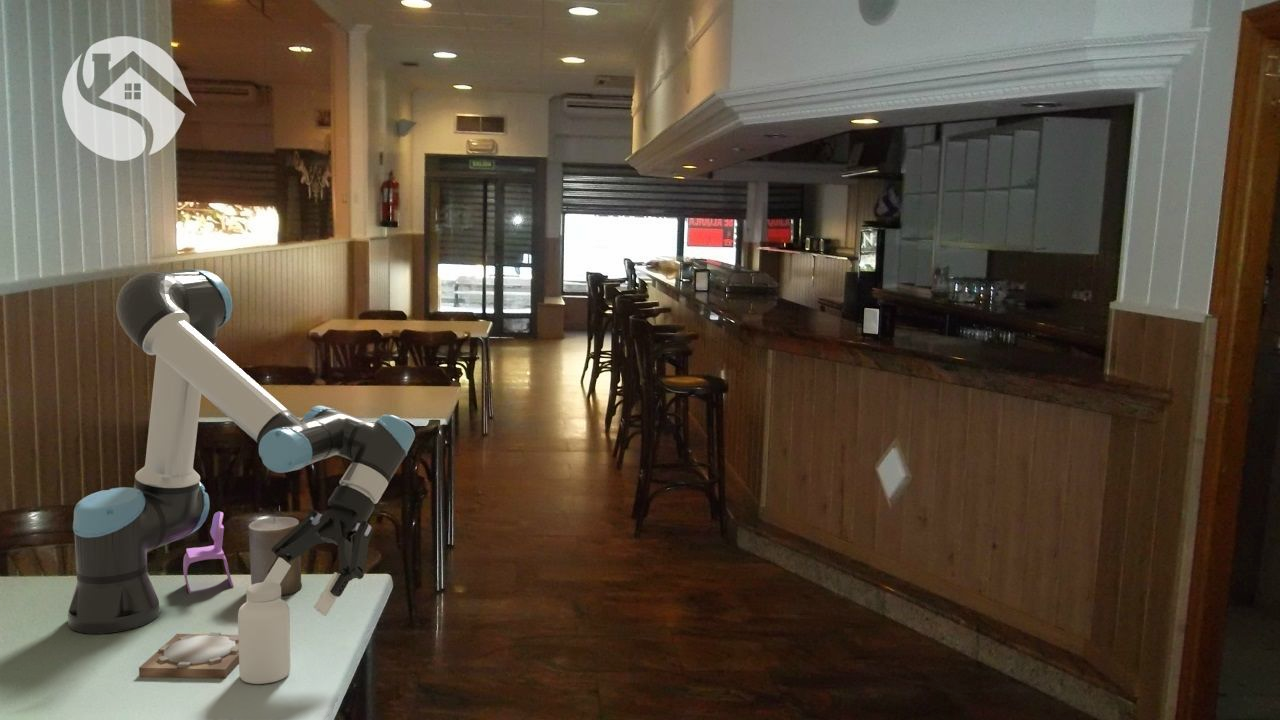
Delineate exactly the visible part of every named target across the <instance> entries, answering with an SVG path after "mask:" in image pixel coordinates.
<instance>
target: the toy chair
mask: <svg viewBox="0 0 1280 720" xmlns="http://www.w3.org/2000/svg"><path fill="white" fill-rule="evenodd" d="M223 519H224V512H222V511H217V512H215V513H214V514H213V518H212V523H211V527H210V531H209V534H210V536H211V538H212V541H213V542H214V543H213V545H208V546H201V547H200V546H199V547H189V548H186V549H185V550H186V551H185V552H186V553H185V554H184V556H183V559H182V560H183V562H182V563H183V564H182V566H183V567H182V568H183V570H182V571H183V576H184V581H185V584H186V588H187V591H188V593H189V594H191V595H192V591H191V588H190V584H189V580H188V569H189V566H191V564H193V563H196V562H200V561H206V560H217V559H218V560H221V559H222V560H223V564H224V568H225V572H226V576H227V580H228V582H229V584H230V587H231V588H233V589H234V584H233V580H232V577H231V573H230V569H229V563H228V561H227V558H226V556H225V553H224V550H223V548H222V547H223V540H224V537H223V536H224V531H225V527H224V525H223V524H222V523H223Z"/></svg>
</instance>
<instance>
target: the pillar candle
mask: <svg viewBox="0 0 1280 720" xmlns="http://www.w3.org/2000/svg"><path fill="white" fill-rule="evenodd" d="M299 523H300V520H298V519H297V518H295V517H292V516H291V517H290V516H272V517H266V518H261V519H257V520H255V521H252V522H251V523H250V524H248V537H249V538H248V541H249V561H250V562H249V563H250V565H249V566H250V581H251V582H250V583H251V585H253V584H256V583H261V582H264V580H265V579H266V577H267V575H268V574H267V573H268V571H269V569H270V567H271V566H272V564H273V563H274V561H275V560H276V555H275V554H274V552H272V550H271V549H272V547H273V546H274V545H276V544H277V543H278V542H279V541H280V540H281V539H282V538H284V537H285V536H286V535H287V534H288V533H289V532H290V531H291V530H293V529H294V528H295V527H296V526H297V525H298V524H299ZM281 549H282V548H281ZM287 555H289V554H287ZM301 558H302V557H301V555H300V556H298V557H297V558H295V559H294V560H292V561H290V564H291V567H290V568H289V570H288V572H287V573H286V575H285V577H284V578H283V580H282V581H281V583H280V586H281V597H283V596H286V595H289V594H294V593H296V592H298V591H300V590H301V589H302V588H303V583H302V566H301Z"/></svg>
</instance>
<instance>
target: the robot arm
mask: <svg viewBox="0 0 1280 720" xmlns="http://www.w3.org/2000/svg"><path fill="white" fill-rule="evenodd" d="M231 295H232V294H231V292H230V290H229V288H228V286H226V284H225V283H224V281H223V280H222V279H221V278H220V276H218V275H216V274H214V273H213V272H212V271H208V270H204V269H191V268H186V269H175V270H165V271H164V270H163V271H147V272H142V273H139V274H137V275H134V276H133V277H131V278H130V279H129V280H128V281H126V283H124V285H122V287H121V289H120V291H119V292H118V295H117V297H116V298H117V299H116V303H115V304H116V305H115V306H116V307H115V308H116V309H115V311H116V315H117V320H118V322H119V325H120V326H121V328H122V329H123V331H124V332H125V334H126V335H127V336H128V338H129V339H130V340H131V341H132V342H133V343H134V344H135V345H136V346H137V347H138V348H140V349H141V350H142V351H143V352H144V353H145V354H147V355H149V356H155V366H154V375H153V387H152V395H151V404H150V407H151V408H150V412H149V413H150V415H149V423H148V424H149V425H148V433H147V444H146V454H145V463H144V466H143V467H141V468H140V469H139V470H138V471H136V473H135V475H134V485H133V487H128V486H127V487H126V486H125V487H123V486H121V487H113V488H109V489H107V490H105V489H103V490H99V491H96V492H94V493H91V494H89V495H86V496H84V497H83V498H81V499H80V500H79V501H78V502H77V503H76V504H75V507H74V510H73V521H72V531H73V540H74V541H73V542H74V554H75V567H76V570H75V571H76V585H75V589H74V591H73V595H72V599H71V602H70V605H69V608H68V612H67V623H68V628H70V629H71V630H72V631H75V632H77V633H82V634H83V633H84V634H91V635H92V634H96V635H97V634H99V635H100V634H113V633H118V632H123V631H124V632H125V631H128V630H132V629H136V628H140V627H141V626H144V625H147V624H149V623H150V622H153V621H154V620H155V619H157V618H158V617H159V615H160V601H159V598H158V595H157V594H156V591H155V589H154V586H153V584H152V581H151V578H150V576H149V574H148V558H147V557H148V556H147V555H148V554H147V553H148V552H151V551H153V550H156V549H158V548H160V547H163V546H165V545H167V544H171V543H172V542H177V541H180V540H183V539H185V538H187V537H188V536H190V535H191V534H193V533H195V532H197V530H199V529H200V528H201V527H202V526H203V524H204V523H205V522H206V519H207V517H208V515H209V511H210V496H209V494H208V492H206V491H205V490H206V488H205V486H204V484H203V483H201V476H200V474H199V473H198V472H197V471H196V470H195V469H194V460H195V454H196V443H197V436H198V435H197V434H198V425H199V419H200V418H199V417H200V408H201V400H202V395H203V396H204V398H205V399H207V400H208V401H209V402H211V404H213V405H214V406H215V407H216V408H218V410H219V411H221V413H223V414H224V415H225V416H226V417H227V418H228V419H230V421H232V422H234V423H235V425H237V426H238V427H239V428H240V429H241V430H242V431H244V432H245V433H246V434H247V435H248V436H249V437H251V439H253V441H255V442H256V443H257V444H258V454H259V455H258V456H259V457H260V458H261V461H262V465H264V466H265V467H266V468H267V469H268V470H270V471H272V472H274V473H279V474H280V473H281V474H283V473H289V472H293V471H298V470H301V469H303V468H305V467H306V466H309V465H311V464H314V463H316V462H320V461H323V460H325V459H328V458H331V457H333V456H340V457H342V458H344V459H348V460H351V461H352V462H351V463H350V465H349V466H348V467H347V469H346V471H345V472H344V474H343V476H342V477H341V479H340V480H339V485H338V486H336V487H335V489H334V491H332V494H331V496H330V497H329V498H328V500H327V509H326V511H324V513H323V514H321V513H320V512H318V511H317V510H316V509H315V508H314V509H311V510H309V512H308V514H307V515H306V516H305V517H304V518H303V520H301V521H300V522H299V524H298V525H297V526H296V527H295V528H294V529H293V530H291V531H290V532H289V533H288V534H287V535H286V536H285V537H284V538H282V539H281V540H280V541H279V542H278V543H277V544H276V545H274V546H273V547H272V549H271V550H272V552H274V554H275V555H276V560H275V561H274V563H273V564H272V566H271V567H270V569H269V571H268V573H267V574H268V575H267V577H266V579H265V580H264V582H274V583H278V584H279V585H280V583H281V581H282V580H283V578H284V577H285V575H286V573H287V572H288V570H289V568H290V567H291V564H290V561H292V560H294V559H295V558H297V557H298V556H300V557H301V555H303V554H305V553H306V552H307V551H309V550H310V549H312V548H314V547H315V546H317V545H319V544H324V543H325V542H326V543H328V544H335V546H337V554H338V557H337V558H338V567H339V568H338V569H337V570H336V571H337V572H335V571H334V573H333V574H332V576H331V577H330V579H329V581H328V582H327V584H326V586H325V588H324V589H323V591H322V592H321V595H320V596H319V598H318V599H317V601H316V603H315V604H314V606H313V609H315V610H316V611H317V612H319V614H321V615H322V616H324V617H327V616H328V614H329V612H330V610H331V609H332V607H333V606H334V604H335V602H336V600H337V598H339V597H340V596H342V594H343V593H344V591H345V590H346V588H347V586H348V585H349V583H350V581H352V580H353V579H358V580H361V579H363V578H364V575H365V571H366V570H365V568H366V563H367V557H368V556H367V555H368V551H369V543H370V539H371V537H372V535H373V533H374V531H375V530H374V528H373V526H371V525H370V524H369V523H368V520H369V518H370V516H371V515H372V513H373V511H374V509H375V504H378V502H379V501H380V499H381V498H382V496H383V494H384V493H385V491H386V489H387V487H388V485H389V484H390V482H391V480H392V478H393V477H394V475H395V473H396V472H397V470H398V469H399V467H400V465H401V464H402V462H403V461H404V460H405V457H407V455H408V452H409V450H410V448H411V447H412V445H413V442H414V441H415V438H416V433H415V431H414V428H413V427H412V426H411V425H410V424H409V423H408V422H407V421H405V420H404V419H403V418H400V417H398V416H397V415H393V414H387V413H386V414H381V416H379V418H378V419H377V420H376V421H375V422H371V421H367V420H365V419H362V418H359V417H357V416H354V415H351V414H348V413H345V412H343V411H341V410H339V409H338V408H334V407H329V406H325V405H314V406H313V407H311V408H310V411H307V412H306V413H305V415H304V417H303V418H302V420H301V419H299V417H297V416H296V415H295V414H293V413H292V412H291V410H289V409H288V408H287V407H285V406H284V405H283V404H282V403H281V402H279V400H278V399H276V398H275V397H274V396H273V395H272V394H271V393H269V391H267V390H266V389H265V388H264V387H262V386H261V384H259V383H258V382H257V381H256V380H255V379H253V378H252V377H251V376H250V375H249V374H247V373H246V372H245V371H244V370H243V369H242V368H240V367H239V366H238V364H237V363H235V362H234V361H233V360H232V359H230V358H229V357H228V356H227V355H226V354H225V353H224V352H223V351H221V350H220V349H219V348H218V347H217V346H216V343H217V342H216V341H217V334H218V329H221V328H222V327H223V326H225V324H226V323H227V322H228V321H229V320H230V318H231V315H232V312H233V298H232V296H231ZM353 536H354V541H353ZM281 548H282V549H281ZM287 554H289V555H287Z"/></svg>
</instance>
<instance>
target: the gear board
mask: <svg viewBox="0 0 1280 720" xmlns="http://www.w3.org/2000/svg"><path fill="white" fill-rule="evenodd" d="M237 666H239V638H238V634H222V632H210V633H208V634H207V633H206V634H205V633H176V634H174V636H173V637H172V638H170V639H169V640H168V641H167V642H165V644H163V645H162V646H161V647H159V648H158V650H157V651H155V653H153V654H152V655H151V656H150V657H149V658H148V659H146V661H145V662H143V663H142V664H141V665H140V666H139V667H138V677H142V678H143V677H144V678H145V677H148V678H149V677H152V678H194V679H195V678H199V679H200V678H201V679H202V678H203V679H226V678H227V677H228V676H229V675H230V673H232V672H233V670H234V669H235V668H236V667H237Z"/></svg>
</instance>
